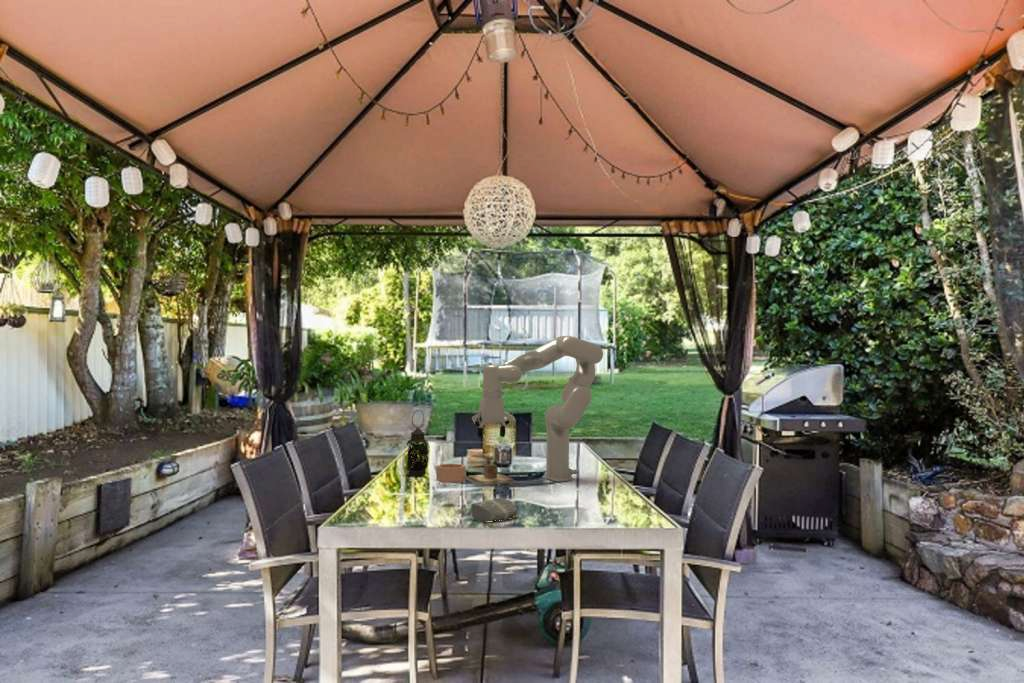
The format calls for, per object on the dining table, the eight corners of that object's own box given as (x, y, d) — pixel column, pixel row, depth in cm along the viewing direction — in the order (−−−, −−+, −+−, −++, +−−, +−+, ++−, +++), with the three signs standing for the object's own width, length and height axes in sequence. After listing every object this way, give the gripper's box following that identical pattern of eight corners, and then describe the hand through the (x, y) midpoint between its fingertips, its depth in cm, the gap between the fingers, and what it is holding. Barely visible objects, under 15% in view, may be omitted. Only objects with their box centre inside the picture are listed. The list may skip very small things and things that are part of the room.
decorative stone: (497, 513, 242) (498, 495, 242) (521, 518, 235) (521, 500, 235) (470, 520, 232) (470, 501, 232) (494, 525, 225) (494, 506, 225)
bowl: (458, 478, 303) (459, 463, 303) (468, 483, 293) (468, 467, 293) (433, 480, 298) (434, 464, 298) (442, 485, 288) (442, 468, 288)
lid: (499, 475, 306) (499, 461, 306) (513, 481, 293) (513, 466, 293) (468, 478, 300) (468, 463, 300) (481, 483, 287) (481, 468, 287)
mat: (501, 477, 308) (501, 474, 308) (519, 484, 292) (519, 482, 292) (462, 479, 301) (462, 477, 301) (478, 487, 285) (478, 485, 285)
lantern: (417, 472, 317) (418, 408, 317) (432, 475, 312) (433, 410, 312) (401, 475, 309) (402, 410, 309) (417, 478, 304) (418, 411, 304)
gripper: (507, 394, 303) (506, 435, 303) (469, 394, 295) (468, 436, 295) (515, 395, 296) (514, 437, 296) (476, 396, 289) (475, 438, 288)
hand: (491, 437), depth 296 cm, fingers open, 9 cm apart
